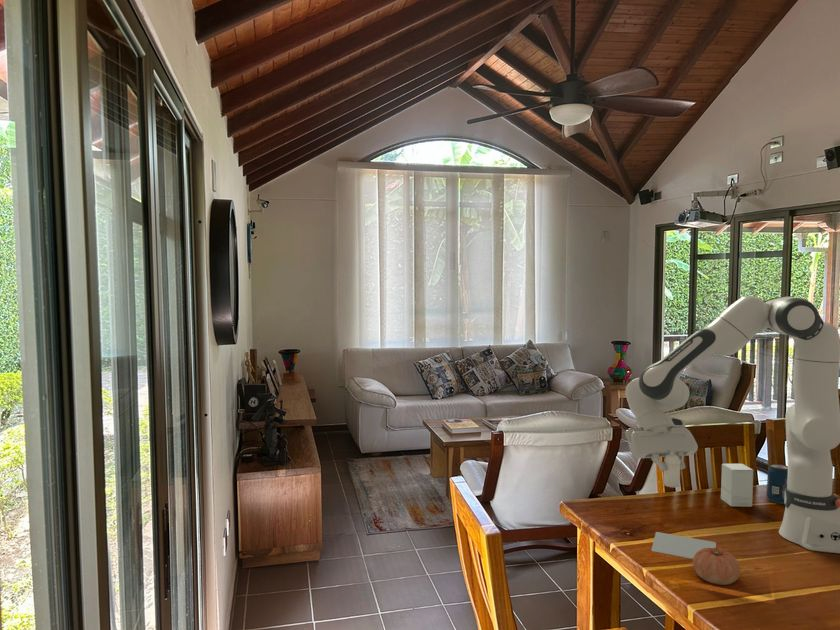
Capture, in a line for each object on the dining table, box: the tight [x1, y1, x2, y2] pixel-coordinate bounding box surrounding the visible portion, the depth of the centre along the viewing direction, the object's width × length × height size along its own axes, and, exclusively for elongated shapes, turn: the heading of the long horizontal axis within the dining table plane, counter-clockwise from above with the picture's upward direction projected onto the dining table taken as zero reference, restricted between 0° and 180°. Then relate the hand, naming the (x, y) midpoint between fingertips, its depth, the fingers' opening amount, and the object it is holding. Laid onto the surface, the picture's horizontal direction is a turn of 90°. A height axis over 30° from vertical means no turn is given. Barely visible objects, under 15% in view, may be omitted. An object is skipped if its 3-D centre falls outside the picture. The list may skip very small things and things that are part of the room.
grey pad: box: [650, 531, 717, 560], centre depth 169 cm, size 16×14×1 cm
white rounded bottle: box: [662, 450, 681, 488], centre depth 174 cm, size 4×4×10 cm
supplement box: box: [720, 463, 754, 508], centre depth 204 cm, size 7×7×13 cm
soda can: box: [766, 463, 788, 504], centre depth 206 cm, size 7×7×12 cm
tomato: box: [692, 547, 741, 586], centre depth 151 cm, size 11×11×8 cm
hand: (673, 469), depth 173 cm, fingers closed on white rounded bottle, 4 cm apart
